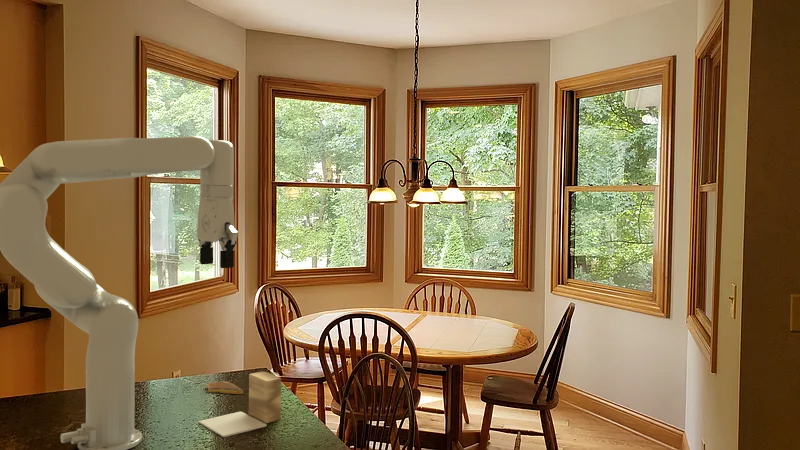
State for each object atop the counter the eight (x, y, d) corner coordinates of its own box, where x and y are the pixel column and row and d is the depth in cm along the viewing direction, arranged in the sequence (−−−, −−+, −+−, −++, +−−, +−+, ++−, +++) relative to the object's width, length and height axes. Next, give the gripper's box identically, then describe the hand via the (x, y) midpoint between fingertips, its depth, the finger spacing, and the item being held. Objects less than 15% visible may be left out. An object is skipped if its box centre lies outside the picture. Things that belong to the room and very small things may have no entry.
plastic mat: (223, 437, 145) (223, 435, 145) (198, 422, 153) (198, 421, 153) (266, 426, 152) (266, 424, 152) (240, 412, 161) (240, 411, 161)
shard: (244, 396, 176) (244, 389, 176) (216, 400, 171) (216, 394, 171) (228, 386, 185) (228, 379, 185) (202, 390, 180) (202, 383, 180)
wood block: (265, 423, 154) (266, 381, 154) (248, 414, 160) (249, 374, 160) (280, 419, 157) (281, 378, 156) (263, 411, 163) (263, 371, 162)
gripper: (184, 192, 157) (184, 263, 158) (220, 193, 145) (220, 270, 146) (213, 193, 162) (213, 261, 163) (250, 194, 150) (249, 268, 151)
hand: (216, 265), depth 154 cm, fingers open, 9 cm apart
